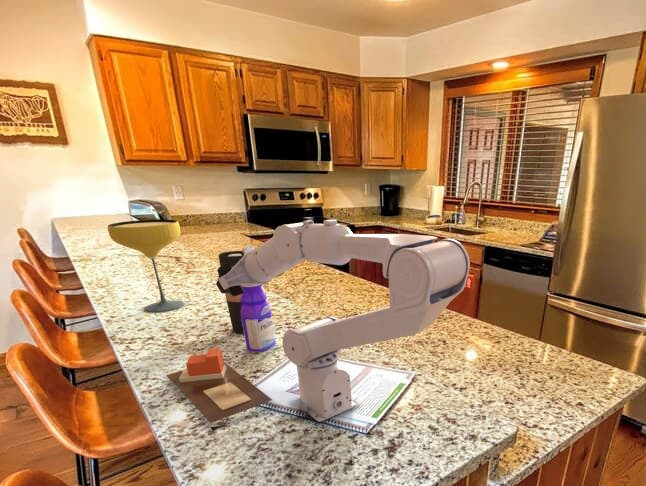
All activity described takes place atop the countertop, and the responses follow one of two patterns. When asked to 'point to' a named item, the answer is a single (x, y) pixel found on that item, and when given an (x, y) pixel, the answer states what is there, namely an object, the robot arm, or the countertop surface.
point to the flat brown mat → (221, 394)
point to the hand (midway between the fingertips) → (236, 280)
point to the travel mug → (232, 301)
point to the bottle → (256, 319)
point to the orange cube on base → (204, 367)
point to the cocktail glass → (148, 247)
